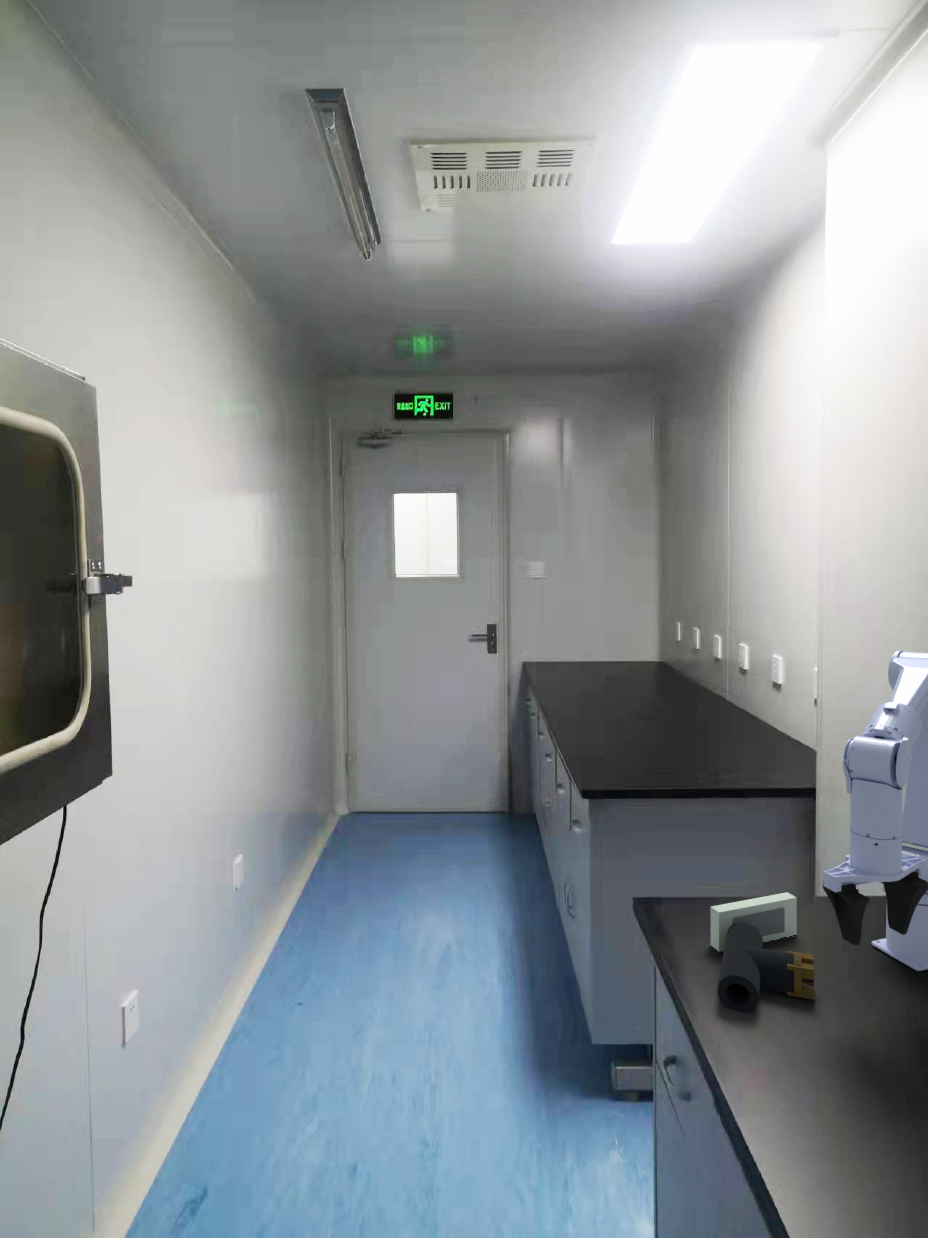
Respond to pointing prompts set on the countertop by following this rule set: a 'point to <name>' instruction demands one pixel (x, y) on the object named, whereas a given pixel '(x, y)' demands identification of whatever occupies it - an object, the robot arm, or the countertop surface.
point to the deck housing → (756, 917)
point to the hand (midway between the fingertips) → (874, 936)
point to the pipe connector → (760, 970)
